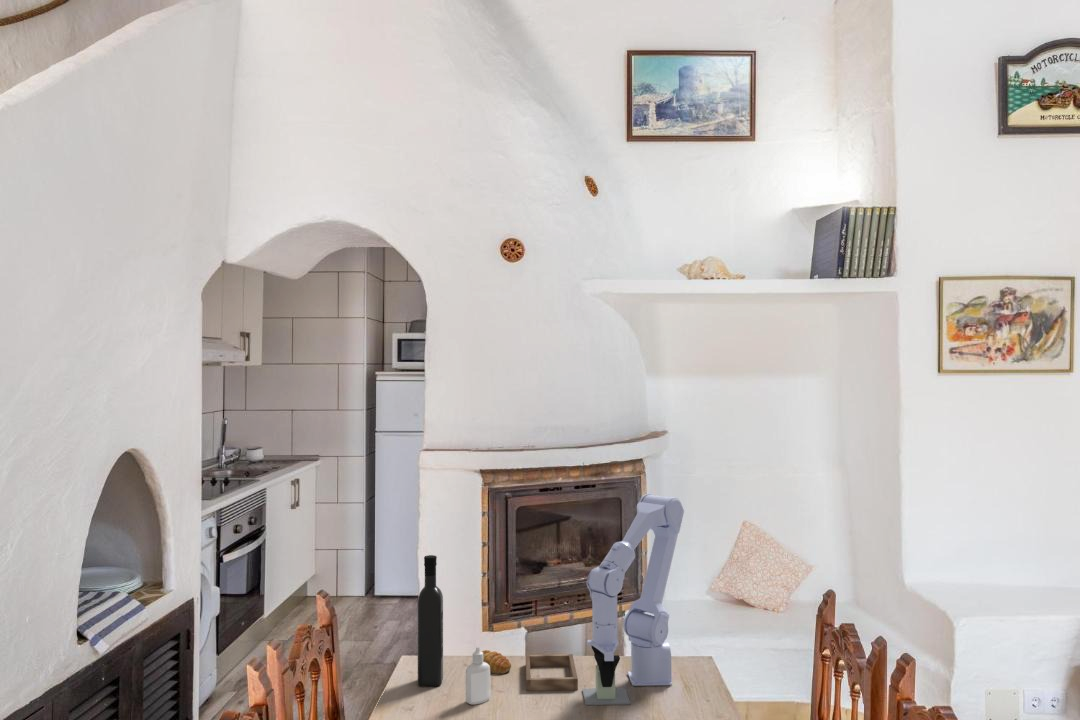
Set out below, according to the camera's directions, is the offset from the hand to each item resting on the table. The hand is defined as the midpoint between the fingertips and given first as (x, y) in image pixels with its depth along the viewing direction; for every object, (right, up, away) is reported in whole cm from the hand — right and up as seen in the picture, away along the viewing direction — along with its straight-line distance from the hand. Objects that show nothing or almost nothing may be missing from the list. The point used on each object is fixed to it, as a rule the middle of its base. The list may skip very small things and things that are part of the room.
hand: (605, 682), depth 166 cm
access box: (-12, -4, +12) cm, 18 cm away
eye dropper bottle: (-29, -4, -2) cm, 29 cm away
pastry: (-27, -5, +18) cm, 33 cm away
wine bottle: (-41, -4, +9) cm, 42 cm away
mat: (0, -3, 0) cm, 3 cm away
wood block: (0, -3, 0) cm, 3 cm away
